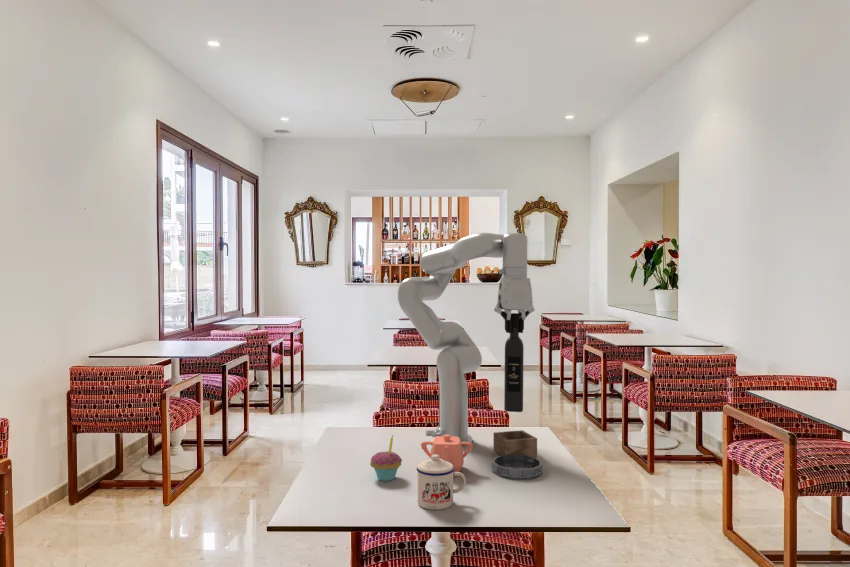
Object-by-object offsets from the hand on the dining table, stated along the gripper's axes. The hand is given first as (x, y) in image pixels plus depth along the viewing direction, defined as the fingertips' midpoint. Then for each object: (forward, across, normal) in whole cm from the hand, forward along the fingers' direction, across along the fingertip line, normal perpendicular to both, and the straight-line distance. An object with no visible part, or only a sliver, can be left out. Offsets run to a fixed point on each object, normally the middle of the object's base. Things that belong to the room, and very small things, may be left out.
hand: (514, 332), depth 178 cm
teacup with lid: (+38, -34, -30) cm, 59 cm away
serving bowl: (+38, -6, -14) cm, 41 cm away
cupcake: (+38, -43, -10) cm, 58 cm away
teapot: (+38, -25, -8) cm, 46 cm away
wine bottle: (+24, 0, 0) cm, 24 cm away
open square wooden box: (+38, 0, 0) cm, 38 cm away
